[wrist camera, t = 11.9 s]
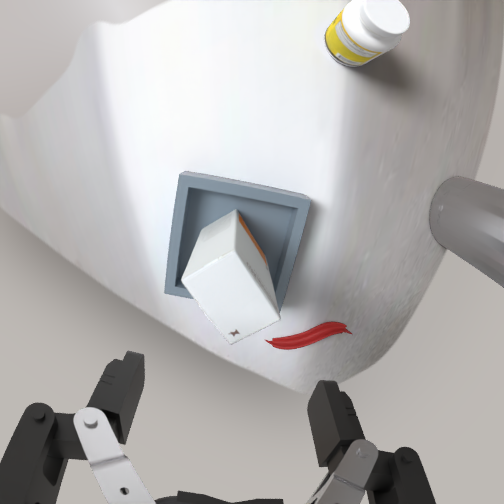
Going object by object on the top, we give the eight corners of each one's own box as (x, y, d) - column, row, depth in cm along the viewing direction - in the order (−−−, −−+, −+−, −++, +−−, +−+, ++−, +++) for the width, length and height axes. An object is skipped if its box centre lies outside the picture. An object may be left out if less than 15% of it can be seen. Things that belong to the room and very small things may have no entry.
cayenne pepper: (358, 319, 36) (363, 328, 34) (348, 348, 38) (352, 357, 36) (265, 314, 35) (267, 323, 33) (260, 345, 36) (261, 354, 35)
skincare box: (267, 256, 31) (283, 321, 20) (231, 275, 31) (229, 348, 20) (236, 205, 29) (236, 248, 18) (199, 227, 29) (177, 281, 18)
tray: (304, 194, 30) (311, 200, 27) (276, 298, 34) (279, 313, 31) (185, 170, 28) (179, 174, 25) (170, 280, 32) (164, 293, 29)
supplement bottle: (356, 18, 23) (397, -18, 14) (379, 60, 25) (429, 38, 15) (312, 29, 23) (343, -11, 14) (337, 73, 25) (378, 48, 16)
